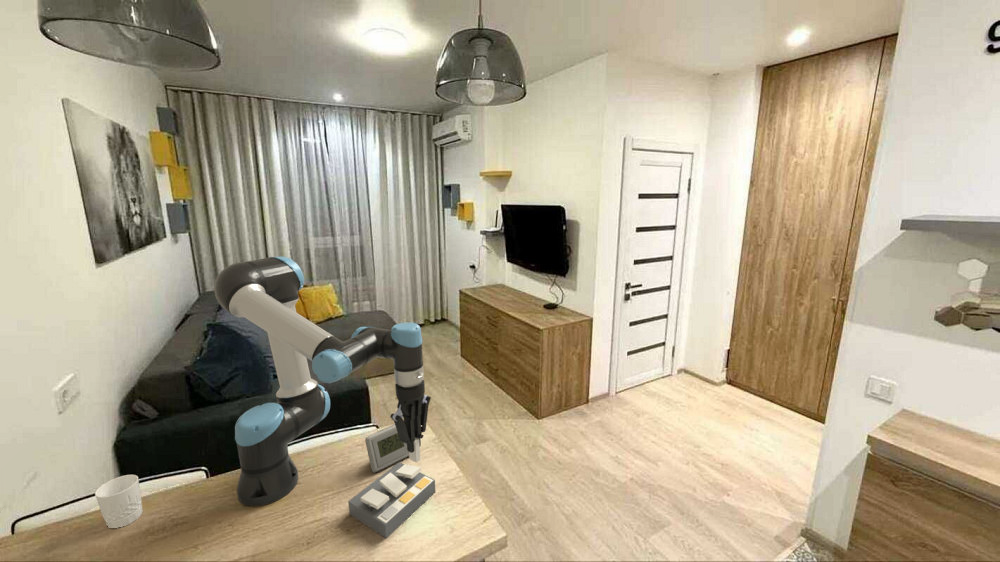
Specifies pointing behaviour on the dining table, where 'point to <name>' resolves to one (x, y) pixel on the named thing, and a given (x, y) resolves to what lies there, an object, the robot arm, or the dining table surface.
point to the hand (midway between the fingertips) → (414, 459)
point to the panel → (392, 502)
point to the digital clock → (385, 448)
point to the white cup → (120, 501)
